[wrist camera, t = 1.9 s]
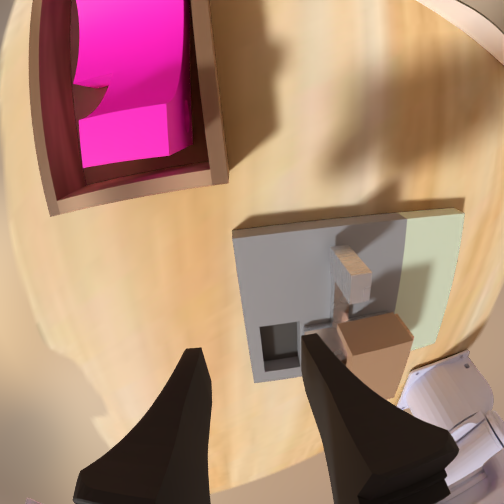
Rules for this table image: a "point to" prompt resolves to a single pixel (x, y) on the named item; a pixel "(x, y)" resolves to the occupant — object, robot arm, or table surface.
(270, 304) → the track
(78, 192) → the wooden caddy
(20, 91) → the table surface
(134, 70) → the toy block
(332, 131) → the table surface
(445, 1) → the gable box
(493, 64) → the table surface
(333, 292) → the sled
